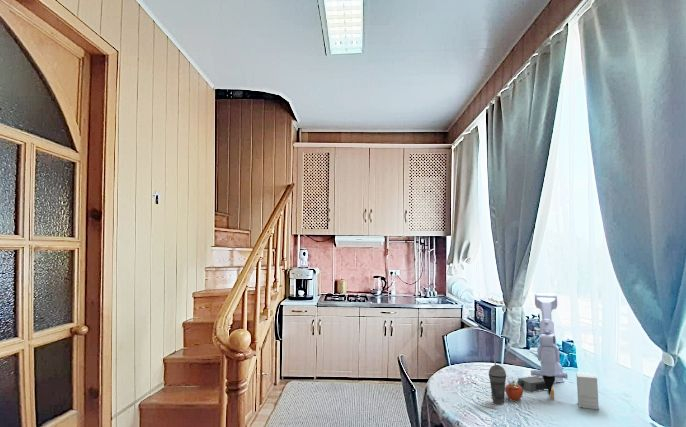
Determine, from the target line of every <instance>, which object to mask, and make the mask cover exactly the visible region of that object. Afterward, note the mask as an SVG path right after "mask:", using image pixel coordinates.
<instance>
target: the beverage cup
mask: <svg viewBox="0 0 686 427" xmlns="http://www.w3.org/2000/svg"><path fill="white" fill-rule="evenodd" d="M495 355H496V354H493V356H492V357H493V362H494V363H493V364H494V365H492V366H490V368H489V370H488V378H489V382H490V390H491V391H490V392H491V399H492V403H493V404H496V405H504V404H505V396H506V395H505V394H506V392H505V387H506V380H507V371H506V370H505V368H504V367H503V366H501V364H500V365H499V364H497V362H496V356H495Z"/></svg>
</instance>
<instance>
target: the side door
mask: <svg viewBox="0 0 686 427" xmlns="http://www.w3.org/2000/svg"><path fill="white" fill-rule="evenodd" d="M554 388H555V387H554V385H553V386H552V389H551V399H552V400H555V389H554Z"/></svg>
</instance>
